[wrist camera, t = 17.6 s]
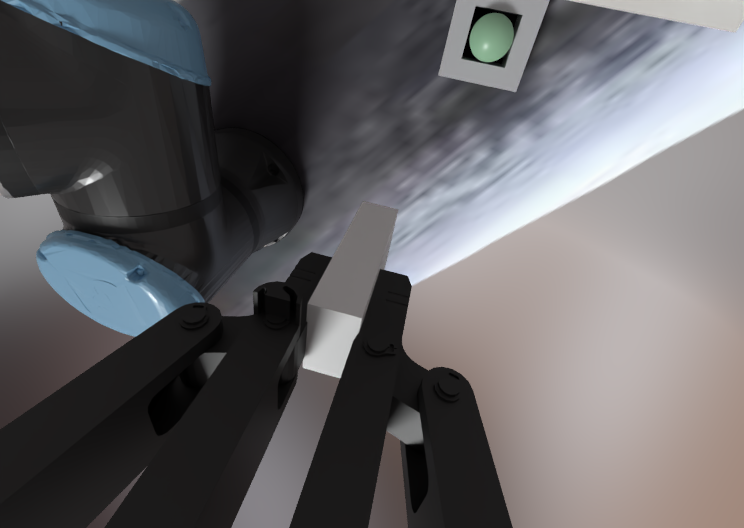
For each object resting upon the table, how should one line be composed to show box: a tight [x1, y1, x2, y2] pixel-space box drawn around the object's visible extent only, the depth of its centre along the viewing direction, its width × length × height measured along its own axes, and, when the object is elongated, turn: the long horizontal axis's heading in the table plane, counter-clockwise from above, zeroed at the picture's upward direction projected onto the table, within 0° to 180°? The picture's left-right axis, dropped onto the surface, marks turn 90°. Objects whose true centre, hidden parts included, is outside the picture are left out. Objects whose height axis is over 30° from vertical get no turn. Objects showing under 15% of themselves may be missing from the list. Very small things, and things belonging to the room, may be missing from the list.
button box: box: [439, 0, 550, 92], centre depth 31 cm, size 7×7×3 cm
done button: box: [469, 13, 514, 62], centre depth 30 cm, size 3×3×2 cm
